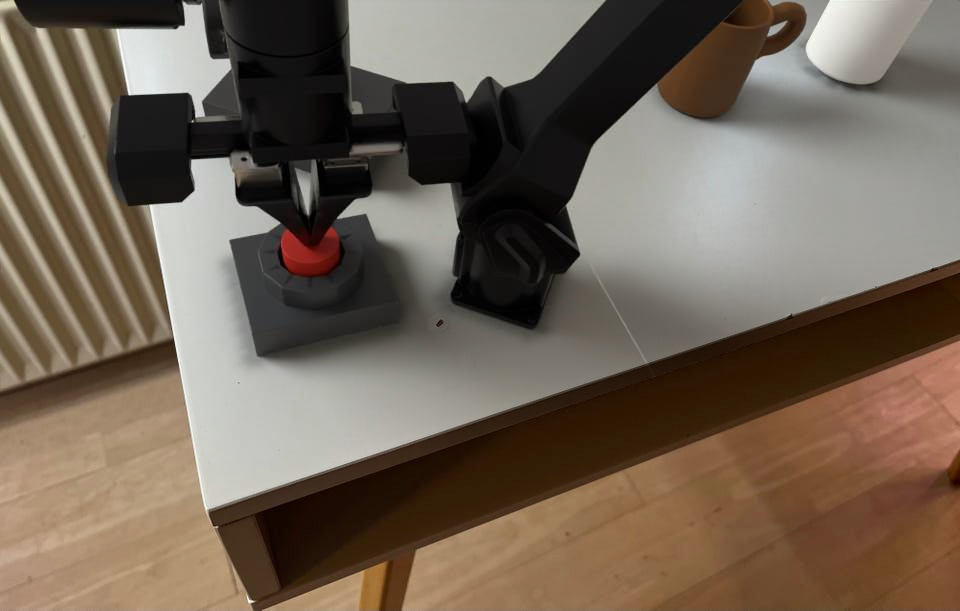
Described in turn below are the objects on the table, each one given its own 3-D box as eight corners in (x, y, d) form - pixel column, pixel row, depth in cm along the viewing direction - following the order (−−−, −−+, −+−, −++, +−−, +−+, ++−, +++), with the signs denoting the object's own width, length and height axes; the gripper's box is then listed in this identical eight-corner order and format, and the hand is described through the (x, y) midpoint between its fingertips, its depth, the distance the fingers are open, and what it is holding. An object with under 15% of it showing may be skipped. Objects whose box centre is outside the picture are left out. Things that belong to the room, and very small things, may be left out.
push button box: (366, 238, 55) (366, 195, 51) (398, 323, 51) (400, 283, 47) (234, 264, 52) (224, 221, 48) (257, 357, 48) (247, 317, 44)
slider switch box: (404, 121, 63) (406, 80, 60) (362, 190, 58) (361, 149, 54) (264, 77, 64) (258, 35, 61) (210, 141, 59) (200, 99, 56)
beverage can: (886, 96, 73) (964, -17, 64) (806, 79, 73) (871, -37, 64) (875, 49, 78) (945, -63, 69) (799, 33, 78) (859, -81, 69)
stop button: (332, 233, 50) (331, 215, 48) (346, 273, 48) (345, 256, 47) (278, 244, 49) (275, 226, 47) (290, 285, 47) (287, 268, 45)
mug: (752, 64, 74) (795, -25, 66) (788, 114, 70) (838, 25, 62) (642, 71, 71) (674, -21, 64) (672, 123, 67) (710, 31, 59)
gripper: (451, -70, 41) (433, 145, 53) (84, -71, 37) (158, 162, 49) (495, 54, 35) (464, 264, 47) (60, 69, 31) (152, 294, 43)
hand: (310, 240), depth 47 cm, fingers closed, pressing on stop button
